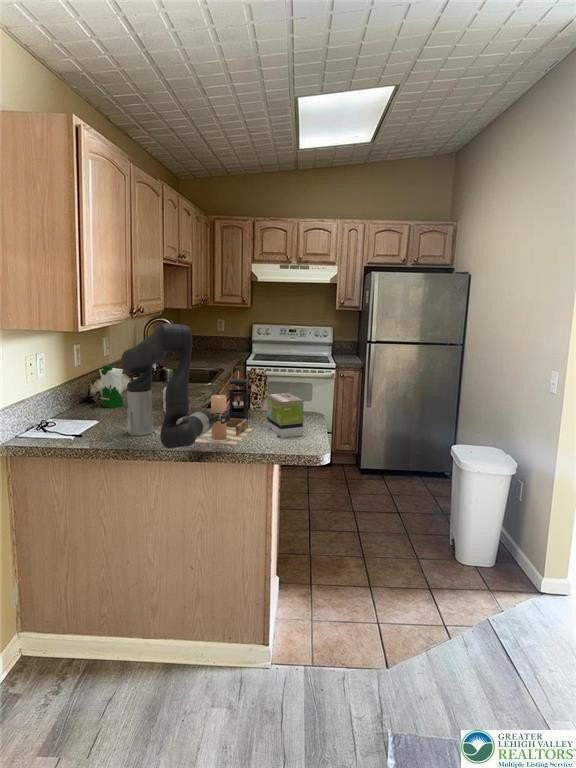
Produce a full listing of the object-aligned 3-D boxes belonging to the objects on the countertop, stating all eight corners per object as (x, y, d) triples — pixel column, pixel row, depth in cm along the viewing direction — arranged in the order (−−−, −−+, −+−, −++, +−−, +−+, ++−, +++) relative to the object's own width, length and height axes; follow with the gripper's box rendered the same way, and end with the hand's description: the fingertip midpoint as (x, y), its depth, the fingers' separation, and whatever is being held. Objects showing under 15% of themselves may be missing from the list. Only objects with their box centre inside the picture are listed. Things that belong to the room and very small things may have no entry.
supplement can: (187, 422, 229) (186, 388, 227) (171, 425, 223) (170, 390, 221) (176, 419, 235) (175, 385, 232) (159, 422, 229) (158, 388, 226)
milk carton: (99, 406, 257) (97, 365, 254) (114, 403, 265) (112, 363, 261) (111, 409, 253) (109, 367, 249) (126, 405, 260) (124, 364, 257)
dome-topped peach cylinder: (223, 440, 198) (223, 398, 195) (209, 439, 199) (208, 397, 196) (231, 434, 206) (230, 393, 203) (217, 433, 207) (216, 393, 204)
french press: (236, 421, 232) (236, 368, 228) (222, 417, 239) (221, 366, 234) (256, 416, 241) (256, 366, 236) (242, 413, 247) (242, 363, 243)
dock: (234, 447, 194) (234, 435, 193) (193, 444, 198) (193, 432, 197) (254, 430, 218) (254, 419, 217) (217, 427, 222) (217, 416, 221)
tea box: (266, 429, 220) (266, 393, 218) (288, 426, 224) (288, 392, 222) (280, 438, 207) (280, 401, 204) (303, 436, 211) (304, 399, 208)
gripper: (218, 413, 178) (234, 403, 193) (178, 411, 181) (196, 401, 197) (218, 435, 179) (234, 423, 195) (179, 432, 182) (197, 421, 198)
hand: (215, 412), depth 196 cm, fingers open, 8 cm apart
